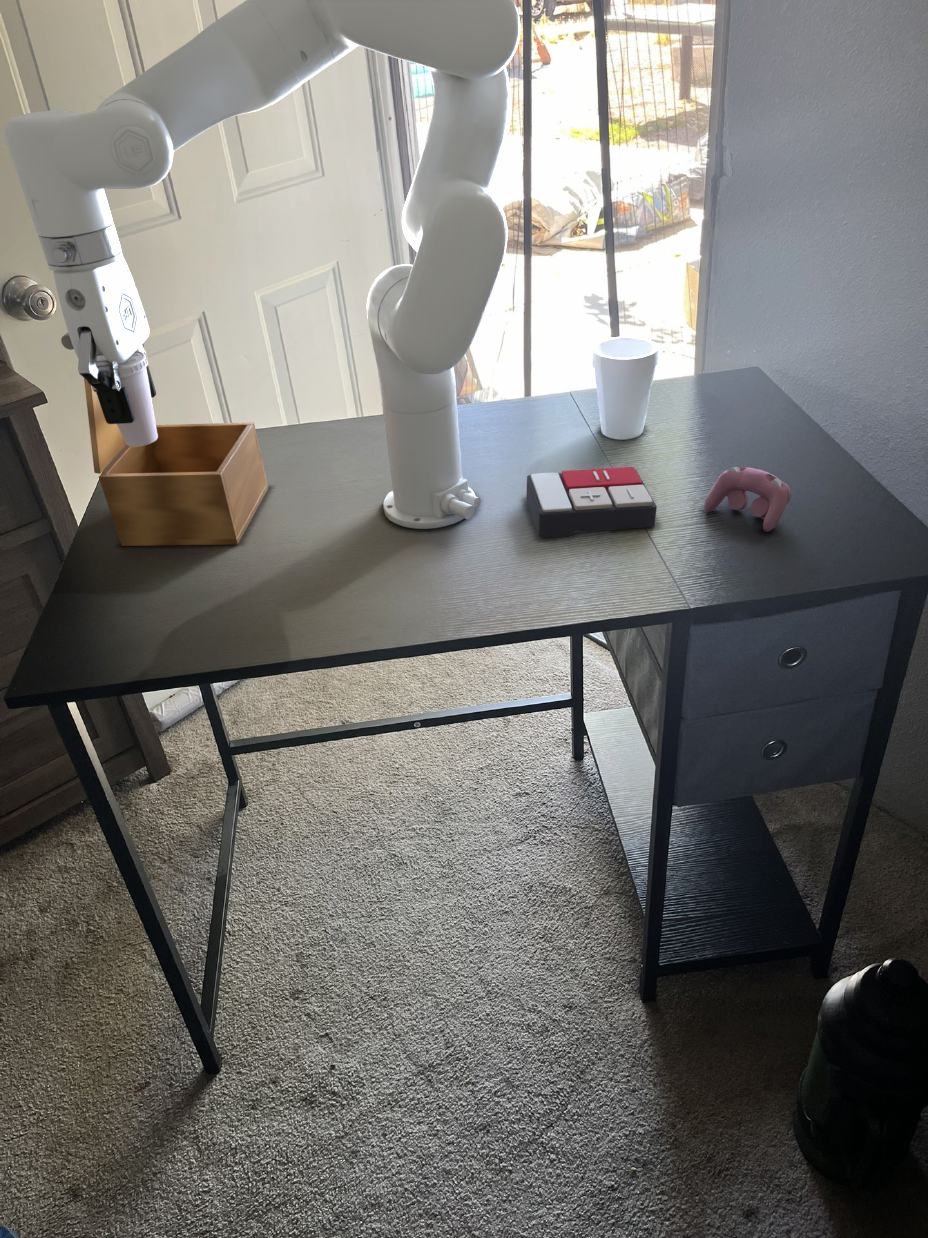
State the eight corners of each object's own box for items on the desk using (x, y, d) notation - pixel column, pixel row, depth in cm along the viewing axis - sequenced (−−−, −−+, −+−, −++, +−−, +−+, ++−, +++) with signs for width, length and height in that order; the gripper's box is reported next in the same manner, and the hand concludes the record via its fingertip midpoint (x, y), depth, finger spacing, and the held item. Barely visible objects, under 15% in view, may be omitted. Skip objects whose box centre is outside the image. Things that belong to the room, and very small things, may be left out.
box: (268, 488, 133) (254, 422, 127) (237, 544, 121) (220, 474, 115) (162, 490, 135) (143, 425, 129) (121, 545, 123) (98, 476, 117)
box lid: (137, 302, 119) (95, 295, 119) (86, 345, 106) (40, 337, 106) (145, 422, 129) (107, 416, 129) (100, 474, 116) (58, 466, 116)
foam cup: (664, 426, 141) (670, 343, 133) (631, 449, 136) (635, 363, 128) (613, 413, 146) (615, 332, 139) (579, 434, 141) (579, 351, 133)
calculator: (658, 501, 115) (540, 508, 114) (654, 531, 118) (539, 538, 117) (636, 462, 124) (526, 469, 123) (633, 491, 127) (525, 497, 125)
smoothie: (154, 452, 105) (117, 331, 97) (103, 451, 106) (62, 332, 98) (178, 427, 110) (144, 310, 102) (129, 427, 111) (92, 312, 103)
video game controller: (782, 534, 117) (801, 480, 115) (768, 533, 113) (787, 478, 111) (713, 511, 122) (730, 460, 121) (698, 510, 119) (715, 457, 117)
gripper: (82, 268, 88) (137, 441, 99) (145, 223, 102) (187, 378, 112) (8, 273, 89) (70, 444, 99) (81, 228, 103) (128, 382, 113)
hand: (132, 408), depth 106 cm, fingers closed on smoothie, 6 cm apart
